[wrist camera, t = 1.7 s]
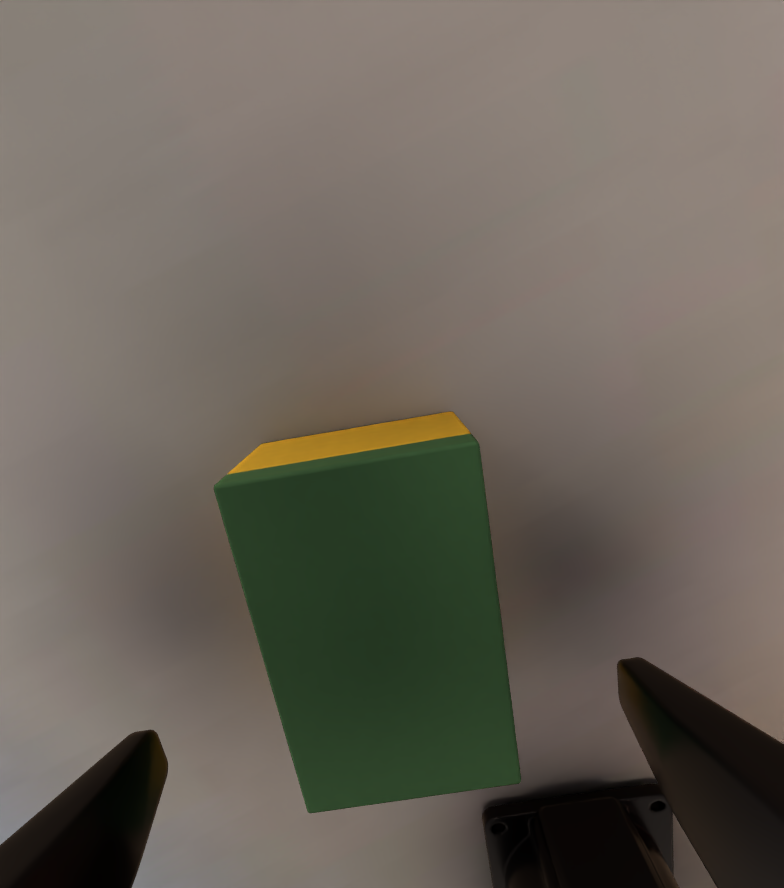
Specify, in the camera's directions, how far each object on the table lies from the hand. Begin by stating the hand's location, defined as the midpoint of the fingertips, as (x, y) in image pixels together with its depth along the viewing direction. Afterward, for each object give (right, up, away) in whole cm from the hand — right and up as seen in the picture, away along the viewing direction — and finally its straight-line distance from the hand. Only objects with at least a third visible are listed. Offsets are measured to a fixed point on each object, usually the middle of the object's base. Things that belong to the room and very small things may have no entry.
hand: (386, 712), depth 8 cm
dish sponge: (0, +1, +5) cm, 5 cm away
